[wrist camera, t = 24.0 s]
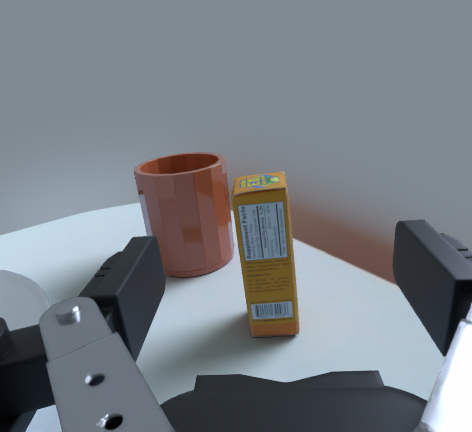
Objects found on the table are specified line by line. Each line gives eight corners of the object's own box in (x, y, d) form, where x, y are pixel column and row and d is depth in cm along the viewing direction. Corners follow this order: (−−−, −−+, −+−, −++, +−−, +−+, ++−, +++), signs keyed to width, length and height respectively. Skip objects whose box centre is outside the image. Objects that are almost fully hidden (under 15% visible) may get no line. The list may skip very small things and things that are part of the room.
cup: (248, 245, 35) (241, 154, 31) (200, 286, 29) (184, 179, 26) (188, 233, 39) (176, 150, 35) (136, 266, 33) (114, 171, 30)
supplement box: (247, 307, 26) (234, 173, 22) (295, 305, 26) (290, 169, 22) (245, 339, 23) (230, 191, 19) (300, 338, 23) (295, 186, 19)
